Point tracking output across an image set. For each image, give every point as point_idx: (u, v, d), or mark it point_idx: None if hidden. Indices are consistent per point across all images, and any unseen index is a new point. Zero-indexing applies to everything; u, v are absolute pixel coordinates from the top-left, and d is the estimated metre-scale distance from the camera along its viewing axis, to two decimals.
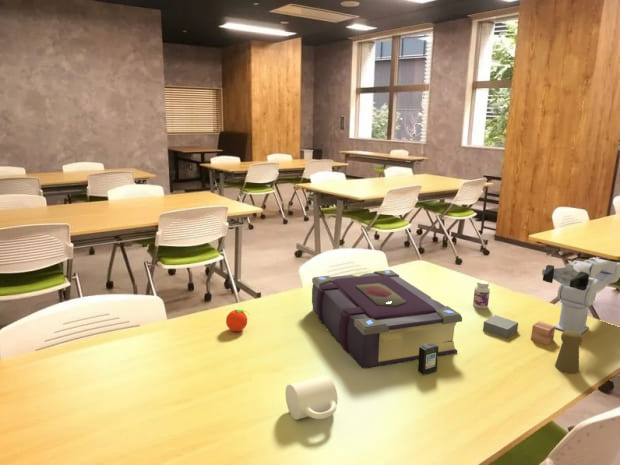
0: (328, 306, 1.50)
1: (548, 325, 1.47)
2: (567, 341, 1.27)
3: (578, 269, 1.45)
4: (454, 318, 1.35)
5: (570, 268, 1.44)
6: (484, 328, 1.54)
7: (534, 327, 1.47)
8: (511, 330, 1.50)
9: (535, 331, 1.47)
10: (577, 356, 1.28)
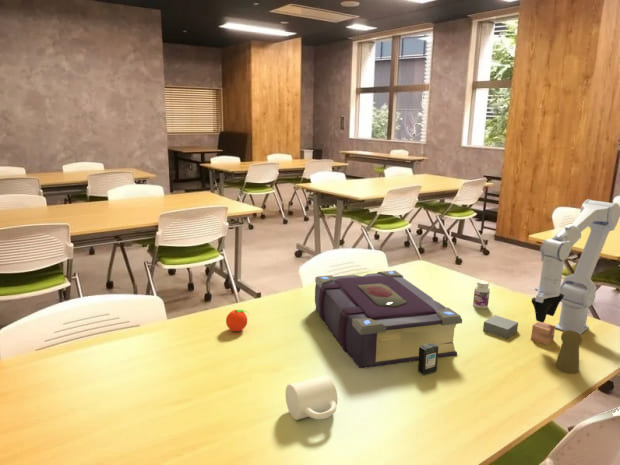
0: (329, 305, 1.50)
1: (548, 325, 1.47)
2: (567, 341, 1.27)
3: (540, 282, 1.44)
4: (454, 320, 1.34)
5: None
6: (484, 328, 1.54)
7: (534, 327, 1.47)
8: (511, 330, 1.50)
9: (535, 331, 1.47)
10: (577, 356, 1.28)
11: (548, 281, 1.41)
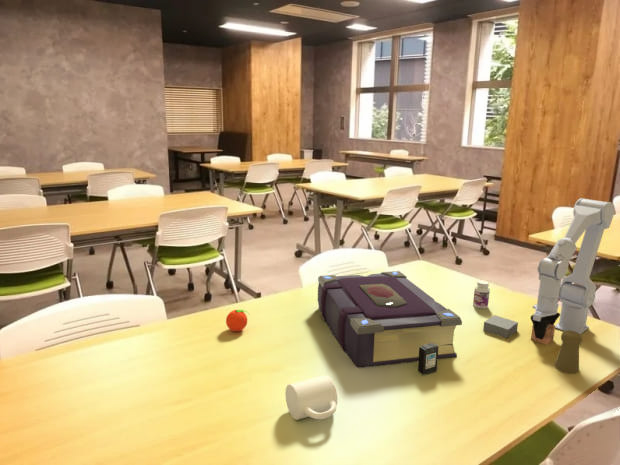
0: (330, 305, 1.51)
1: (548, 325, 1.47)
2: (567, 341, 1.27)
3: (537, 300, 1.46)
4: (454, 321, 1.33)
5: None
6: (484, 328, 1.54)
7: None
8: (511, 330, 1.50)
9: None
10: (577, 356, 1.28)
11: (545, 300, 1.43)
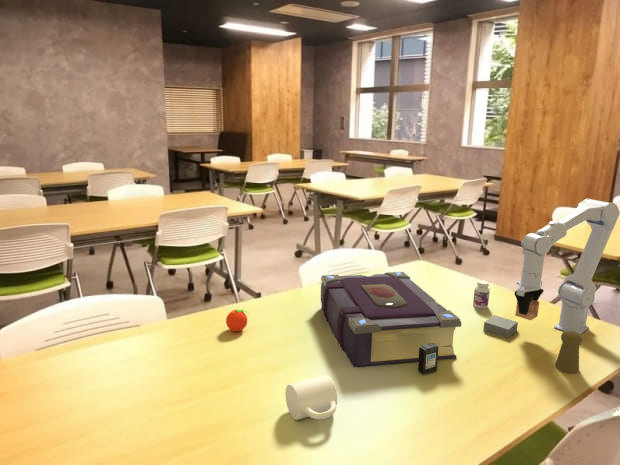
0: (331, 304, 1.51)
1: (532, 301, 1.48)
2: (567, 341, 1.27)
3: (521, 276, 1.47)
4: (453, 322, 1.32)
5: None
6: (484, 329, 1.54)
7: None
8: (511, 330, 1.50)
9: None
10: (577, 356, 1.28)
11: (529, 275, 1.44)
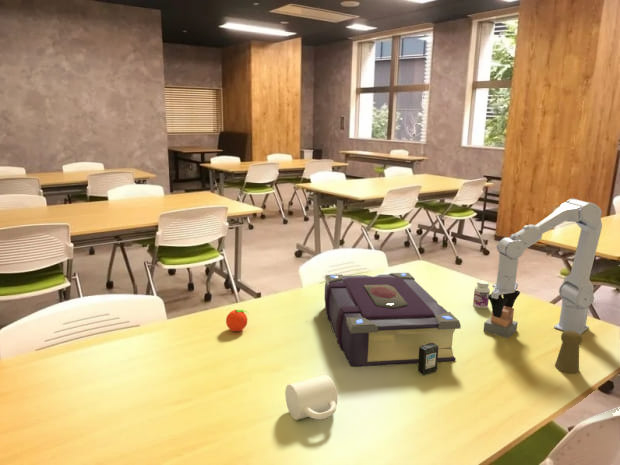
0: (332, 303, 1.52)
1: (507, 308, 1.52)
2: (567, 341, 1.27)
3: (497, 279, 1.51)
4: (452, 324, 1.31)
5: None
6: (485, 329, 1.53)
7: None
8: (511, 330, 1.51)
9: None
10: (577, 356, 1.28)
11: (503, 278, 1.48)
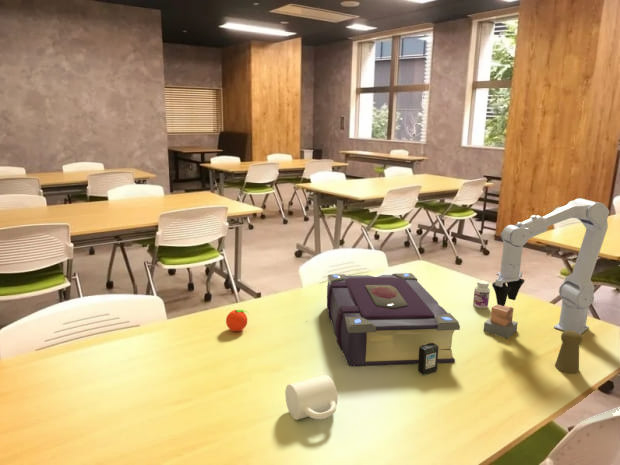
0: (332, 303, 1.52)
1: (507, 307, 1.53)
2: (567, 341, 1.27)
3: (501, 267, 1.49)
4: (451, 325, 1.30)
5: None
6: (485, 329, 1.53)
7: (493, 309, 1.53)
8: (511, 330, 1.50)
9: (494, 313, 1.53)
10: (577, 356, 1.28)
11: (508, 266, 1.46)
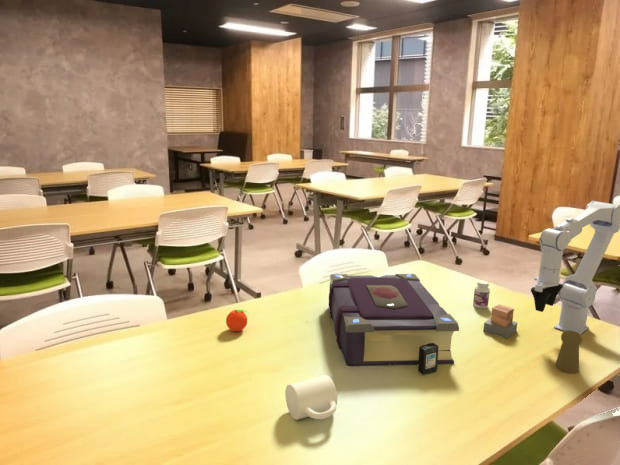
0: (333, 303, 1.52)
1: (507, 308, 1.53)
2: (567, 341, 1.27)
3: (539, 271, 1.45)
4: (450, 326, 1.29)
5: None
6: (484, 329, 1.53)
7: (493, 310, 1.52)
8: (511, 330, 1.50)
9: (494, 314, 1.52)
10: (577, 356, 1.28)
11: (547, 270, 1.42)
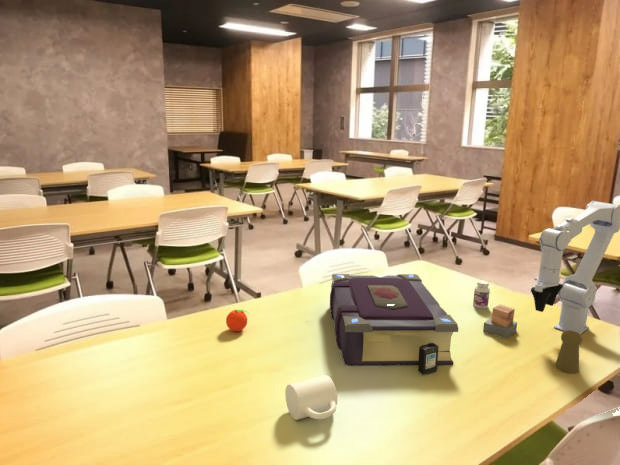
0: (334, 302, 1.53)
1: (508, 308, 1.52)
2: (567, 341, 1.27)
3: (539, 271, 1.45)
4: (449, 327, 1.29)
5: None
6: (484, 329, 1.53)
7: (494, 310, 1.52)
8: (511, 330, 1.50)
9: (495, 314, 1.52)
10: (577, 356, 1.28)
11: (547, 270, 1.42)
